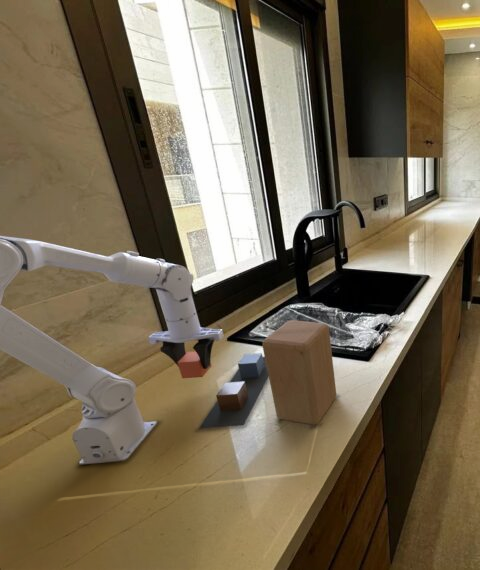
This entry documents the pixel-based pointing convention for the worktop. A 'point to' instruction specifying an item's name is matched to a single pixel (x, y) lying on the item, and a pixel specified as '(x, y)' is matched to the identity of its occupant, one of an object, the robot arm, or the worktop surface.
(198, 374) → the terracotta block
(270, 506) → the worktop surface
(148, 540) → the worktop surface
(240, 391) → the walnut block
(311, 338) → the wooden block
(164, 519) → the worktop surface
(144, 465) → the worktop surface
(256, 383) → the line mat
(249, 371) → the slate-blue block
